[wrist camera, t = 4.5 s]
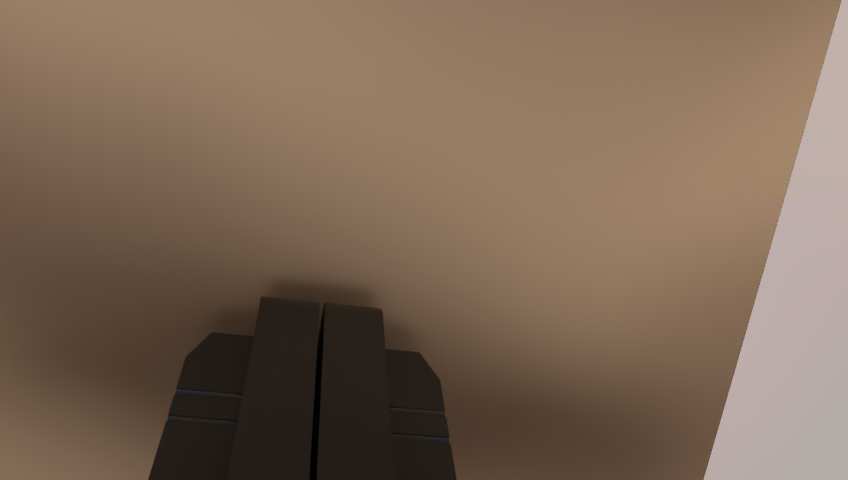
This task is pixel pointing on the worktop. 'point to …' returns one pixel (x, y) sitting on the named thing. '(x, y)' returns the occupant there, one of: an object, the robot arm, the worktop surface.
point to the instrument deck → (397, 210)
